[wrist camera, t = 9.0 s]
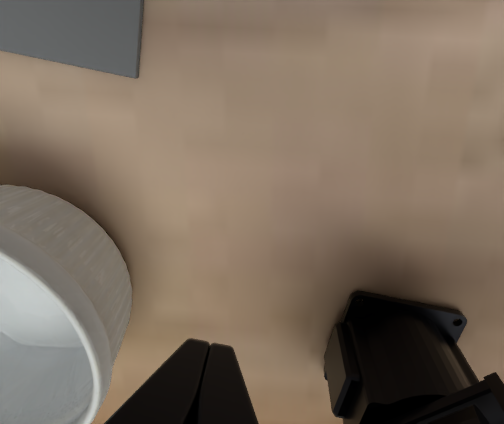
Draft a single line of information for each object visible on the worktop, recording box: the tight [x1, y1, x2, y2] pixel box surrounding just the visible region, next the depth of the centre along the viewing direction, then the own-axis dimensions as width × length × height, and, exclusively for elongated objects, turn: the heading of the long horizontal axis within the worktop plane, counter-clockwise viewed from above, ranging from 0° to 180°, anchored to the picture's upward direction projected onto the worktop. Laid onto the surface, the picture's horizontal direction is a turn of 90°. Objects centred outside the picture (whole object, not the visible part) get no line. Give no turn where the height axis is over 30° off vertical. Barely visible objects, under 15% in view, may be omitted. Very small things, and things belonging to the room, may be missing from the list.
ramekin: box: [0, 185, 132, 424], centre depth 20 cm, size 13×13×7 cm
